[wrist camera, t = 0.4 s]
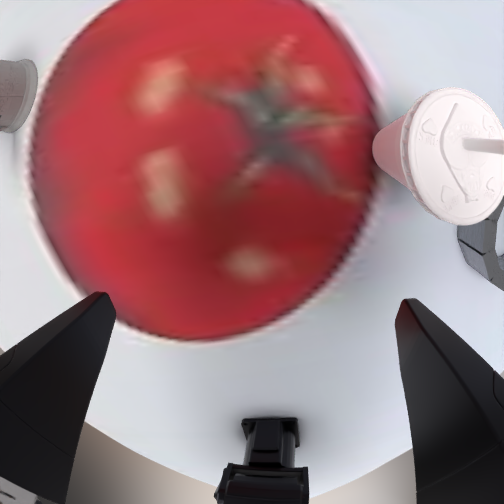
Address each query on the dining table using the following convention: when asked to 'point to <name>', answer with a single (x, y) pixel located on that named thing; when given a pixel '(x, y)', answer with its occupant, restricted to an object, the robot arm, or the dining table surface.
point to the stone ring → (483, 247)
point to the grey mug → (16, 93)
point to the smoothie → (447, 155)
